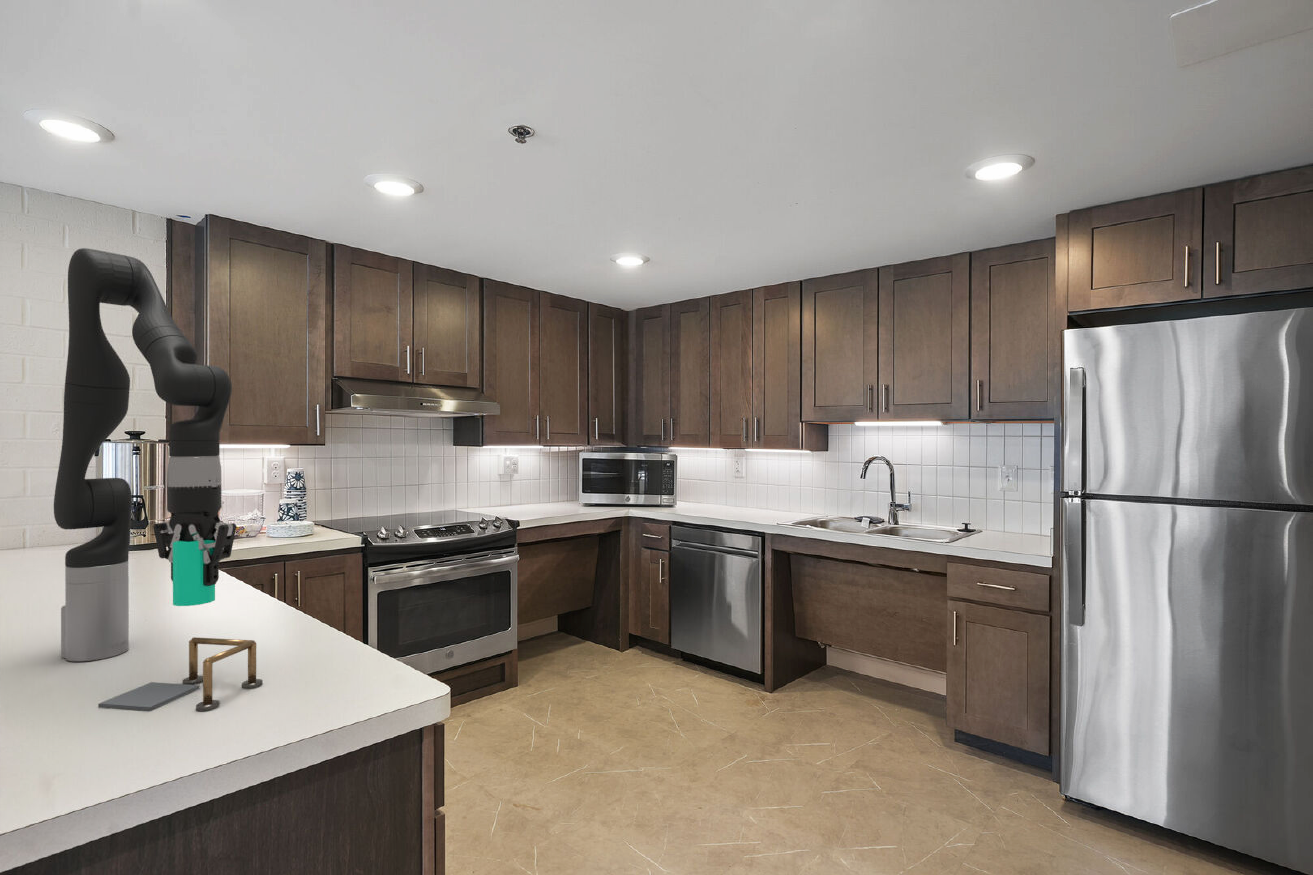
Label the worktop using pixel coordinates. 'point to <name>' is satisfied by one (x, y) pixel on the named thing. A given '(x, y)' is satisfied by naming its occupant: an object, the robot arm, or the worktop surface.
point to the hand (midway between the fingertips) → (194, 584)
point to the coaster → (149, 696)
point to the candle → (190, 575)
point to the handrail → (207, 664)
